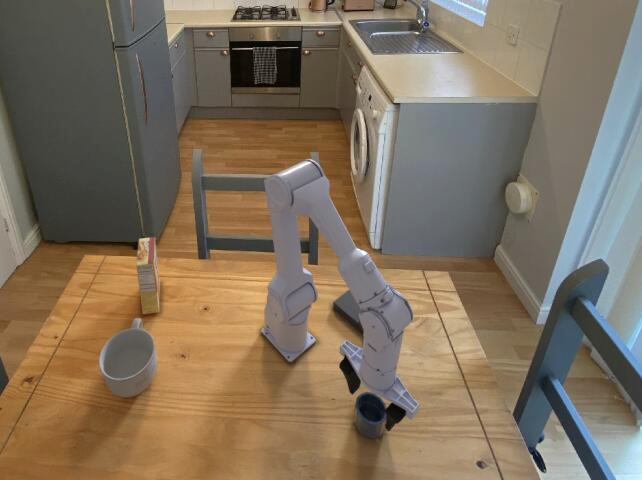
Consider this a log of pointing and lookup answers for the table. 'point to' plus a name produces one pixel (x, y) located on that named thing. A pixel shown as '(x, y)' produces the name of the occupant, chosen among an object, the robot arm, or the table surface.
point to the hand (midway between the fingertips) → (371, 407)
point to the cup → (370, 415)
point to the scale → (349, 309)
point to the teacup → (129, 361)
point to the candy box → (148, 275)
